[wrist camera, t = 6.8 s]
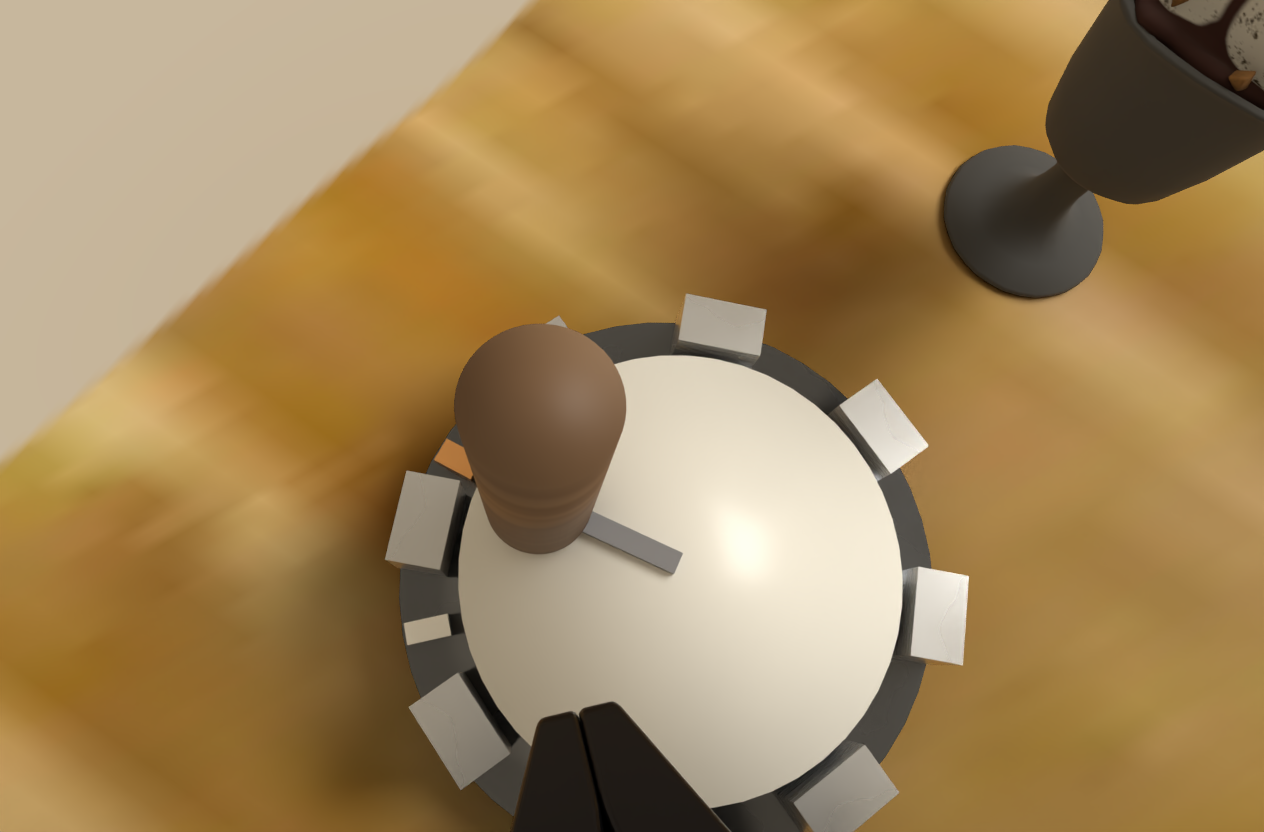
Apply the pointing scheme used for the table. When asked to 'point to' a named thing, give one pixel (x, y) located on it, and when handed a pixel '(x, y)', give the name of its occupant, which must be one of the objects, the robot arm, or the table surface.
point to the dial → (672, 556)
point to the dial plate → (485, 740)
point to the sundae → (1114, 139)
